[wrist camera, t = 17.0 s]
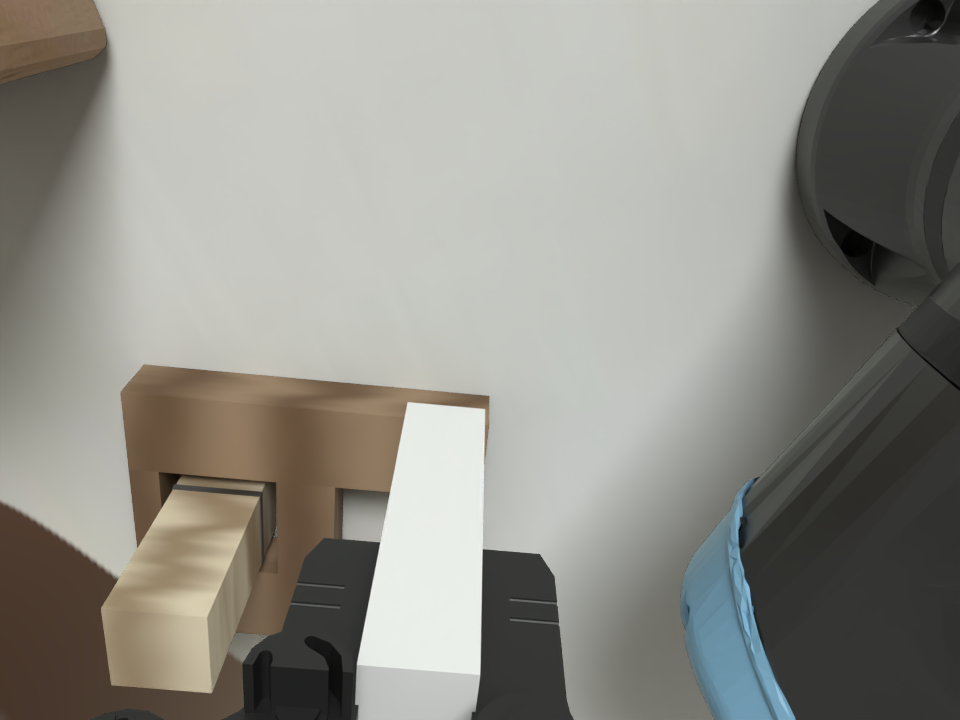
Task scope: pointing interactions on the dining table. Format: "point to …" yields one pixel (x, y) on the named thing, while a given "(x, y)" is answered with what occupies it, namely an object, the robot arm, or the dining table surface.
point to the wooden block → (47, 35)
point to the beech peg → (189, 584)
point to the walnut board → (268, 454)
